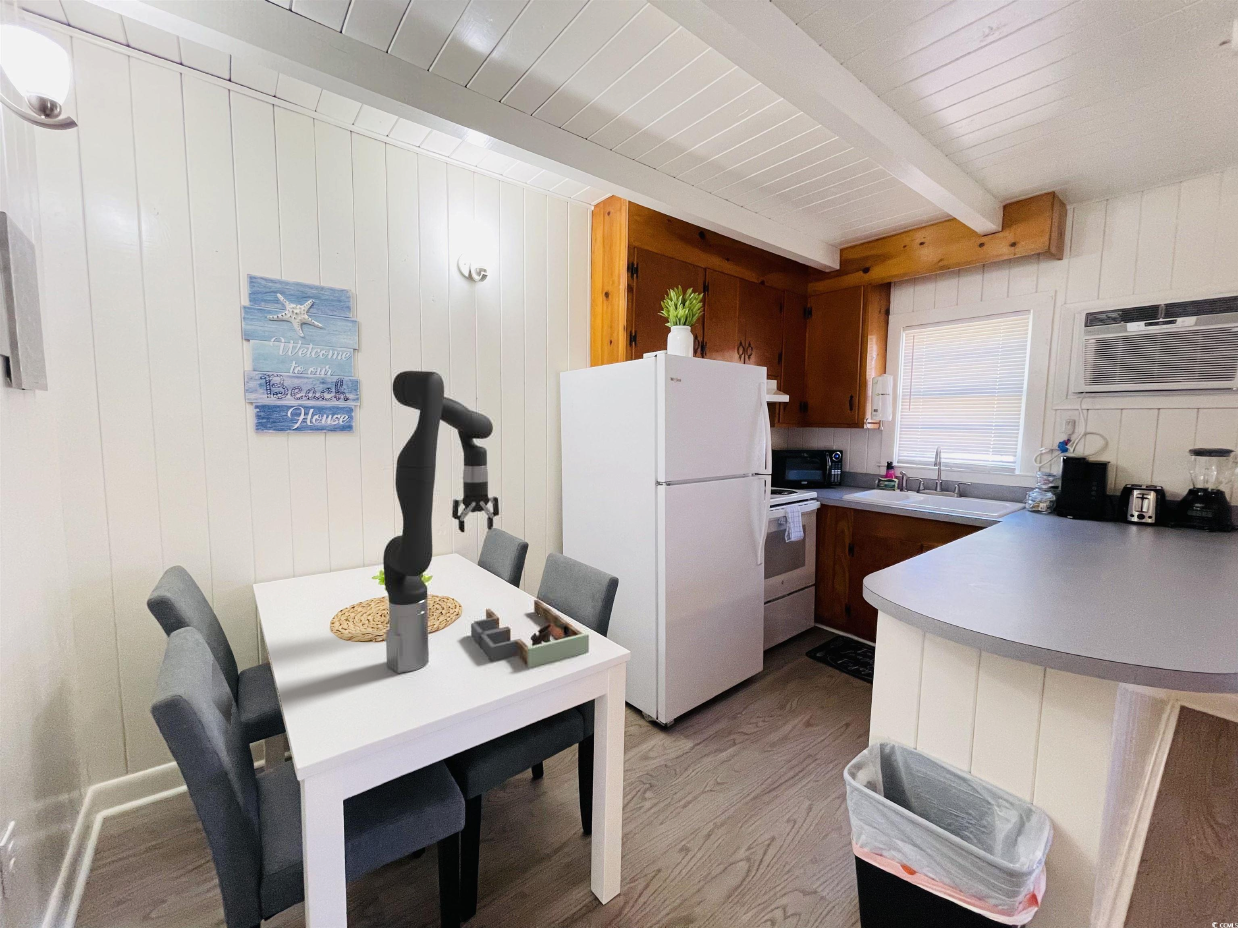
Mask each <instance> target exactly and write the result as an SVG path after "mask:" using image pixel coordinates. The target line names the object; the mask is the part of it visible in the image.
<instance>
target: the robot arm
mask: <svg viewBox="0 0 1238 928" xmlns="http://www.w3.org/2000/svg"><path fill="white" fill-rule="evenodd" d="M392 393H393V396H394V398H395V400H396V401H397V402H398V403H399V404H400V405H402V406H404V407H407V408H411V409H414V410H417V411H419V414H418V415H419V416H418V421H417V425H416V427H415V429H414V431H413V432H412V435H411V436H410V437H409V439H408V440H407V442H406V443H405V445H404V446H403V447H402V449H401V450H400V452H399V454H398V456H397V459H396V467H395V481H394V482H395V485H394V486H395V492H396V495H397V499H398V503H399V507H400V510H401V514H402V515H401V516H402V535H401V534H400V535H397V536H395V537H393V538H391V539H390V540H389V541H388V542H387V544H386V546H385V548H384V551H383V557H382V559H383V576H384V588H385V591H386V593H387V597H388V627H389V628H388V629H386V631H385V646H386V648H385V649H386V651H385V652H386V667H387V668H389V669H391V670H392V671H394V672H395V673H396V674H401V673H405V672H406V673H407V672H411V671H413V672H414V671H417V670H420V669H422V668H423V667H426V665H428V663H429V661H430V659H429V657H430V651H429V650H430V649H429V610H428V609H429V607H428V606H429V604H428V603H429V602H428V600H429V599H428V598H429V597H428V586H427V585H426V583H425V582H424V580H423V579H422V576H421V575H423V574H424V573H425V572H427V570H428V569H429V566H430V565H431V562H432V560H433V530H432V529H433V526H432V524H433V523H432V522H433V520H432V519H433V517H432V516H433V503H434V491H435V490H434V489H435V480H436V466H437V448H438V437H439V428H440V423H441V421H442V422H444V423H446V424H447V425H449V426H450V427H452V428H454V429H455V430H457V435H458V438H459V440H460V444H461V448H462V452H463V470H462V480H463V481H462V488H463V489H462V490H463V491H462V492H463V494H462V495H463V496H462V497H463V498H462V499H456V498H454V499H453V500H452V508H451V509H452V510H451V511H452V513H451V518H452V519H454V520H457V521H458V523H457V524H458V525H457V526H458V530H459V531H460V532H461V533H465V524H466V523H465V519H466V517H467V516H468V515H469V514H470V513H472V514H473V513H477V512H479V513H481V512H483V513H485V514H486V515H487V518H486V520H487V521H486V522H487V523H486V529H487V530H489V531H492V529H493V528H494V519H495V517H497V516H499V515H500V508H499V507H500V505H499V504H500V503H499V498H498V497H497V496H492V497H489V473H488V451H487V448H485V447H484V446H480V445H478V444H476V443H475V441H474V440H475V439H476V440H484V439H487V438H489V437H490V436H491V435H492V433H493V429H494V426H493V423H492V421H491V419H490V418H489V417H488V416H486V415H484V414H482V413H480V412H478V411H474V410H470V408H468V407H467V406H465V405H464V404H462V403H460V402H459V401H457V400H455V399H452V398H449V397H446V396H445V383H444V380H443V378H442V376H441V374H439V373H438V372H436V371H429V370H428V371H427V370H405V371H401V372H399V373H397V375H396V376H395V377H394V378H393V382H392ZM489 503H490V504H492V511H491V510H490V509H489V507H488V504H489ZM461 505H463V506H464V507H463V509H462V510H461V512H460V513H459V507H461Z"/></svg>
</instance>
